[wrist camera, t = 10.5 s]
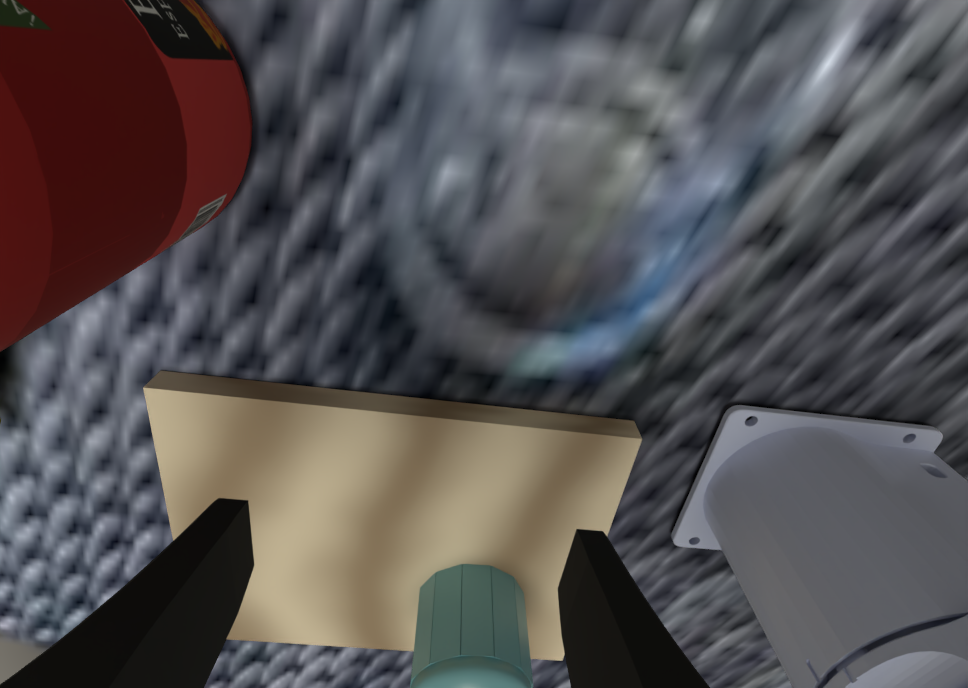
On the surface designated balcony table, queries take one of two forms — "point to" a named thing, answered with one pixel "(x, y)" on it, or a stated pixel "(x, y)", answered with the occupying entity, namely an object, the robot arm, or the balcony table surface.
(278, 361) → the balcony table surface
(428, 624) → the teal cap
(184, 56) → the canned food
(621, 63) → the balcony table surface
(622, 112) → the balcony table surface
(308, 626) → the birch board
